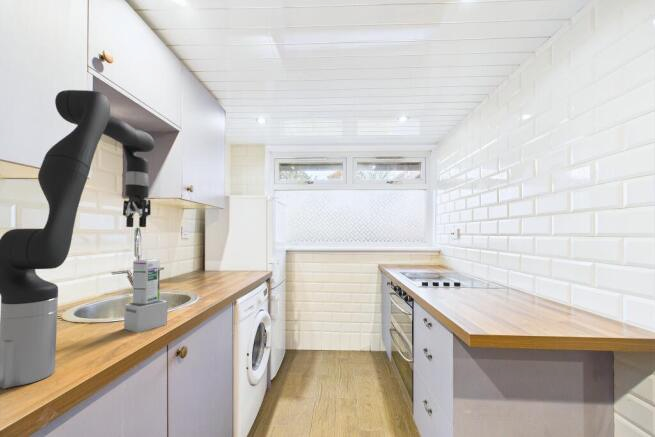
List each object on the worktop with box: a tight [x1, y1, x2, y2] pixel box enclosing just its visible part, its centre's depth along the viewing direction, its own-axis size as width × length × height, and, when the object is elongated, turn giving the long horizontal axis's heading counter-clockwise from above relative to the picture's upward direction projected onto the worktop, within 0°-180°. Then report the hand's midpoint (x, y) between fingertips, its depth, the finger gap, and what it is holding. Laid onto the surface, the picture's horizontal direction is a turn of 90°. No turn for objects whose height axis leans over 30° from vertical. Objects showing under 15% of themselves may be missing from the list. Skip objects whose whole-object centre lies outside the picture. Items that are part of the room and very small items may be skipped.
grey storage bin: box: [123, 299, 168, 334], centre depth 104 cm, size 10×8×8 cm
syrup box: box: [132, 258, 161, 304], centre depth 105 cm, size 6×6×14 cm
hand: (136, 227), depth 116 cm, fingers open, 8 cm apart
